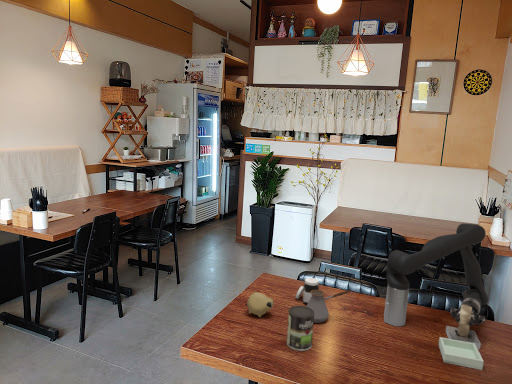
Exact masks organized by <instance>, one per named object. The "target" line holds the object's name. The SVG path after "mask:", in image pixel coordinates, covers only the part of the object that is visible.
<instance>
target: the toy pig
mask: <svg viewBox="0 0 512 384" xmlns="http://www.w3.org/2000/svg"><path fill="white" fill-rule="evenodd" d="M246 304H247V308H248V314H250V315H251V314H253V315H257V317H258V318H261V317H262V316H263V315H265V314H267V312H269V311H270V310H271V309H272V308H273V307H274V300H273V298H272V297H269V296H267V295H265V294H264V293H262V292H253V293H252V294H250V295H249V297H248V299H247V303H246Z"/></svg>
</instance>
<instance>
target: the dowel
mask: <svg viewBox="0 0 512 384" xmlns="http://www.w3.org/2000/svg"><path fill="white" fill-rule="evenodd" d="M460 306H461V311H460V319H459V323H458V326H457V328H458V334H457V336H459V337H465V338H468V334H469V330H470V326H469V321H470V319H471V311H472V307H471V306H469V305H460Z"/></svg>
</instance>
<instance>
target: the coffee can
mask: <svg viewBox="0 0 512 384" xmlns="http://www.w3.org/2000/svg"><path fill="white" fill-rule="evenodd" d="M287 317H288V319H287V331H286V332H287V333H286V335H287V336H286V345H287V347H288V348H290V349H291V350H294V351H297V352H304V351H305V352H306V351H309V350H310V349H312V346H313V332H314V311H313V310H312V309H311V308H309V307H306V306H304V305H294V306H291V307H289V308H288V316H287Z"/></svg>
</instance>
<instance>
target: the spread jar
mask: <svg viewBox="0 0 512 384" xmlns="http://www.w3.org/2000/svg"><path fill="white" fill-rule="evenodd" d="M319 281H320V280H319V279H317V278H315V277H307V278H305V279H304V284H303V285H301V286H300V287H299V289H298V290H297V292H296V294H295V297H294V298H295V299H296V300H299V299H300V297H301V296H302V302H303V304H305V305H307V304H308V302H309V300H310V298H311V297H312V294H311V291H312V290H320V286H319V283H320V282H319Z"/></svg>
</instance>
